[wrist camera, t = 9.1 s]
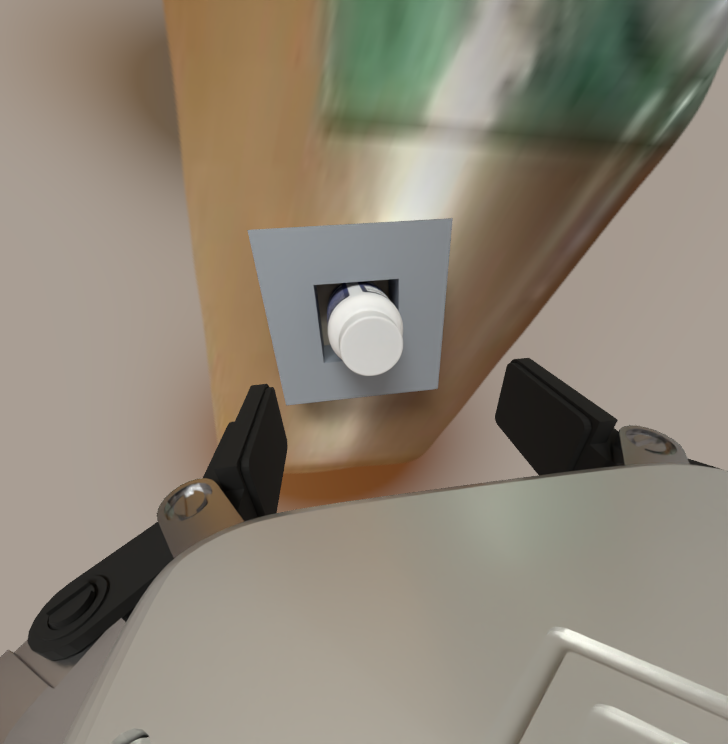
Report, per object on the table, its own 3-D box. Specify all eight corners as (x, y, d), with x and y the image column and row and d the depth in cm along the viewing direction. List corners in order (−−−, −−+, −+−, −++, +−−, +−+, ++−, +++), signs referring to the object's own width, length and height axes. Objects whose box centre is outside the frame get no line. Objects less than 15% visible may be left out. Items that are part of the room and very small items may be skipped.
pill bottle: (337, 342, 27) (341, 395, 18) (318, 287, 24) (314, 319, 16) (390, 326, 27) (420, 373, 18) (378, 269, 24) (406, 292, 16)
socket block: (262, 229, 23) (247, 230, 18) (429, 220, 24) (452, 218, 19) (292, 378, 29) (286, 405, 25) (421, 365, 30) (437, 388, 26)
